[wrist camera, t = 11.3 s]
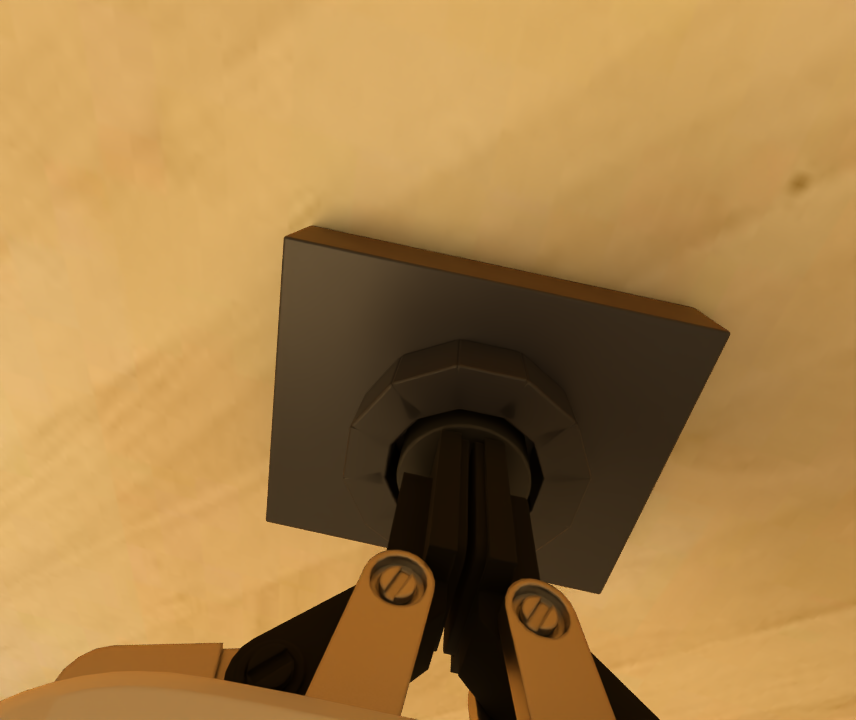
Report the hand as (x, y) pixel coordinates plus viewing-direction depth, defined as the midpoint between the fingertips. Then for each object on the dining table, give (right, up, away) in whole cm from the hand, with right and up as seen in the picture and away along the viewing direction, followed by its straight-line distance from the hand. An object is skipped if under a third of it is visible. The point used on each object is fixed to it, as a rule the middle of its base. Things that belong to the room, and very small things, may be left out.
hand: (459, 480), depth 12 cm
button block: (0, +2, +4) cm, 4 cm away
